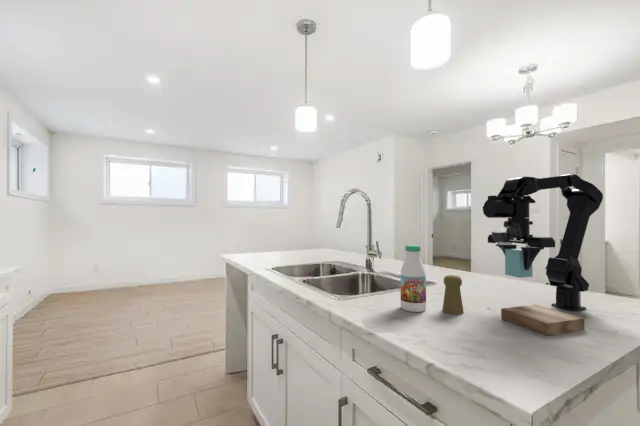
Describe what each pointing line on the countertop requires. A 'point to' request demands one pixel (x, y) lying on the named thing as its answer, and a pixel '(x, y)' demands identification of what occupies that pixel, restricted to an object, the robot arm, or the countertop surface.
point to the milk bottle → (413, 281)
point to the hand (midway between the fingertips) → (518, 268)
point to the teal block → (516, 263)
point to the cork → (452, 295)
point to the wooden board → (542, 319)
